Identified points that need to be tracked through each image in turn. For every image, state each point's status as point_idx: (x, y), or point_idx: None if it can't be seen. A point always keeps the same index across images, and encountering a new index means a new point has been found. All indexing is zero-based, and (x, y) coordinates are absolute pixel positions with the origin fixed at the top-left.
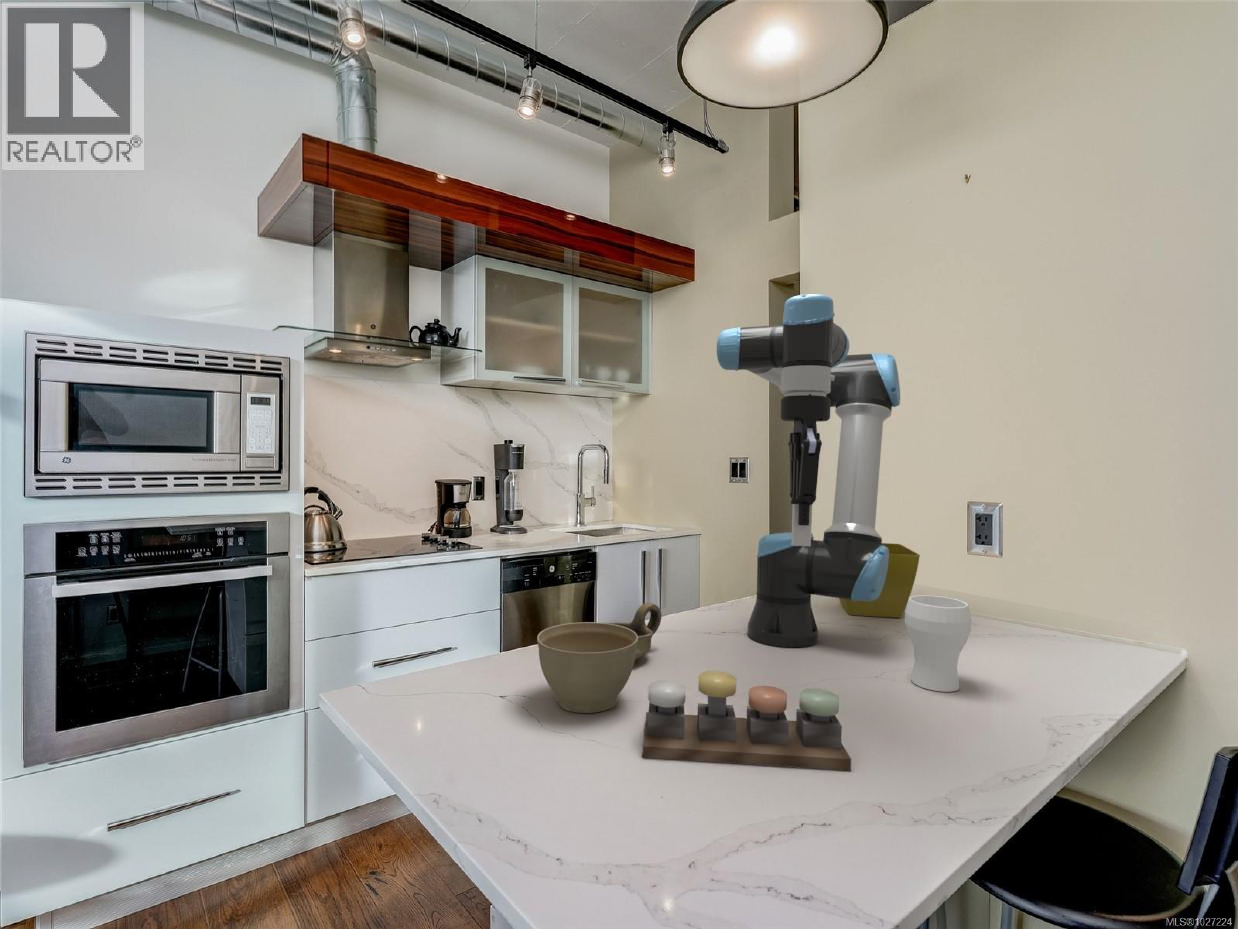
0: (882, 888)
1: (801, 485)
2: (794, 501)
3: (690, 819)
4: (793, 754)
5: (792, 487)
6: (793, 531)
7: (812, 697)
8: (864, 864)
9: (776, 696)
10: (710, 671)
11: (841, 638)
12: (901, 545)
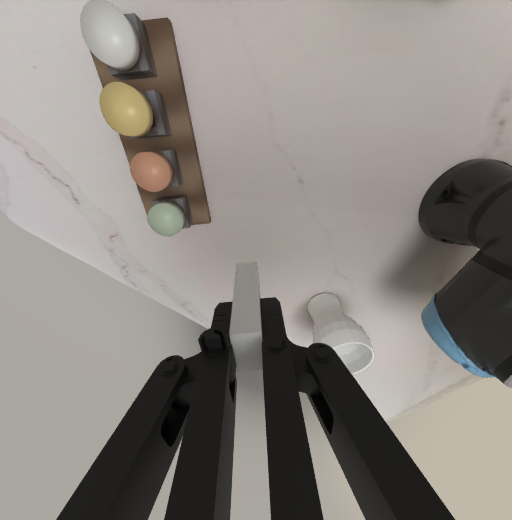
0: (32, 221)
1: (122, 424)
2: (200, 343)
3: (19, 99)
4: (139, 188)
5: (322, 385)
6: (236, 281)
7: (157, 214)
8: (48, 216)
9: (143, 181)
10: (140, 99)
11: (444, 261)
12: None
